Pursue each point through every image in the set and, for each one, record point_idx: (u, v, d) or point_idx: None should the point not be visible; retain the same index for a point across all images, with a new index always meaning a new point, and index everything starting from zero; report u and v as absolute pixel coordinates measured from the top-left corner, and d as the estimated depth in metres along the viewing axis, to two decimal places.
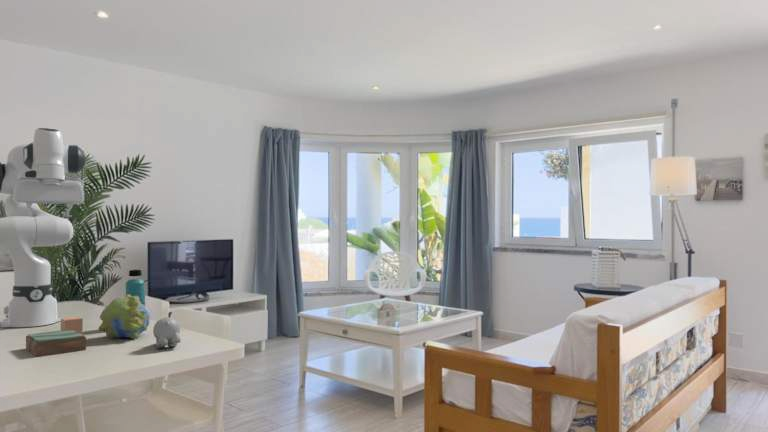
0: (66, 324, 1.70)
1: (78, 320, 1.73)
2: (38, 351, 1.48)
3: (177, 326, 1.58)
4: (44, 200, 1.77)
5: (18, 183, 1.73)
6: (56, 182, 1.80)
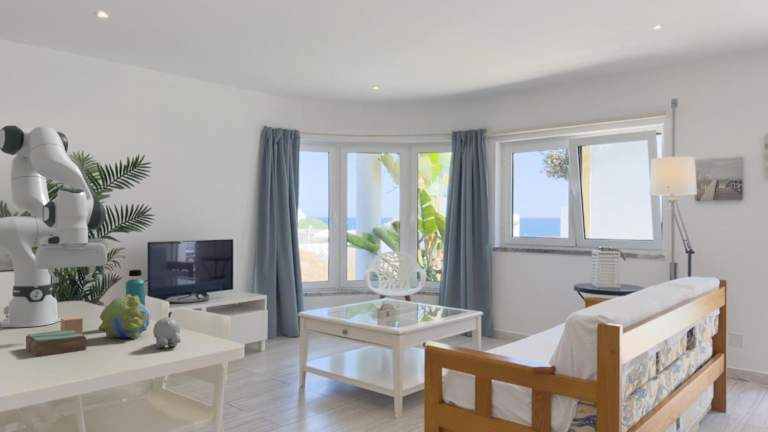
0: (66, 324, 1.70)
1: (78, 320, 1.73)
2: (38, 351, 1.48)
3: (177, 326, 1.58)
4: (67, 266, 1.71)
5: (41, 250, 1.66)
6: (79, 246, 1.73)
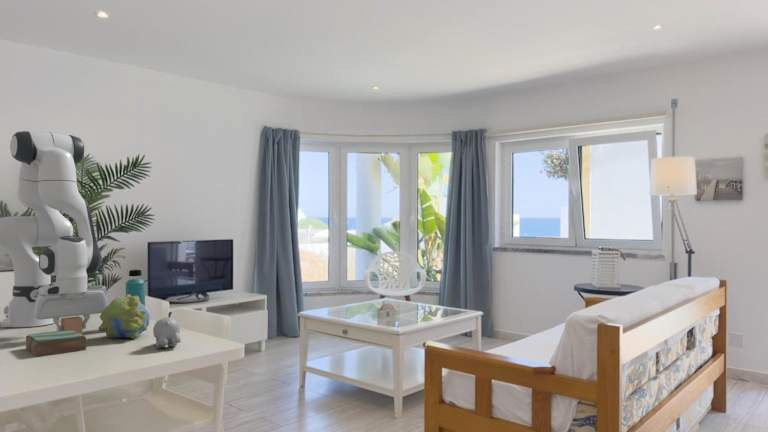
0: (66, 324, 1.70)
1: (78, 320, 1.73)
2: (38, 351, 1.48)
3: (177, 326, 1.58)
4: (66, 315, 1.71)
5: (40, 301, 1.66)
6: (79, 295, 1.73)
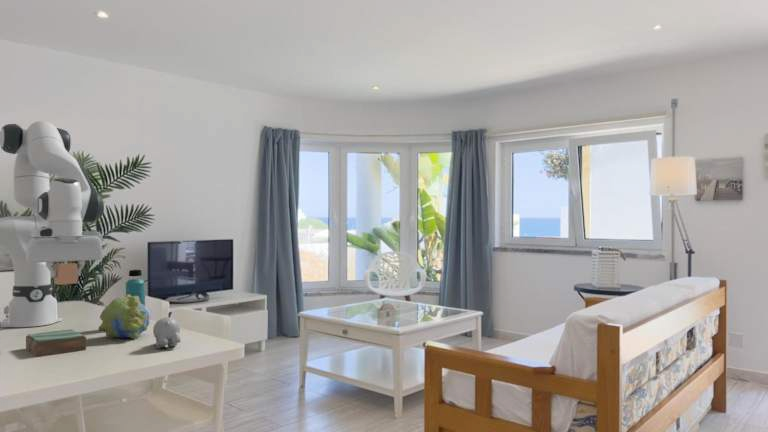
0: (60, 268, 1.62)
1: (73, 265, 1.65)
2: (38, 351, 1.48)
3: (177, 326, 1.58)
4: (60, 259, 1.63)
5: (32, 243, 1.58)
6: None
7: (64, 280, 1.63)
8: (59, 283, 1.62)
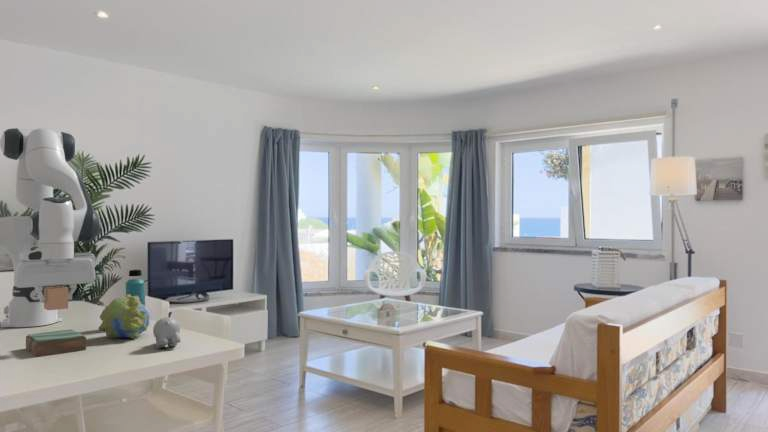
0: (50, 293, 1.53)
1: (63, 289, 1.56)
2: (38, 351, 1.48)
3: (177, 326, 1.58)
4: (50, 284, 1.54)
5: (20, 267, 1.49)
6: (64, 262, 1.56)
7: (54, 306, 1.54)
8: (49, 309, 1.53)
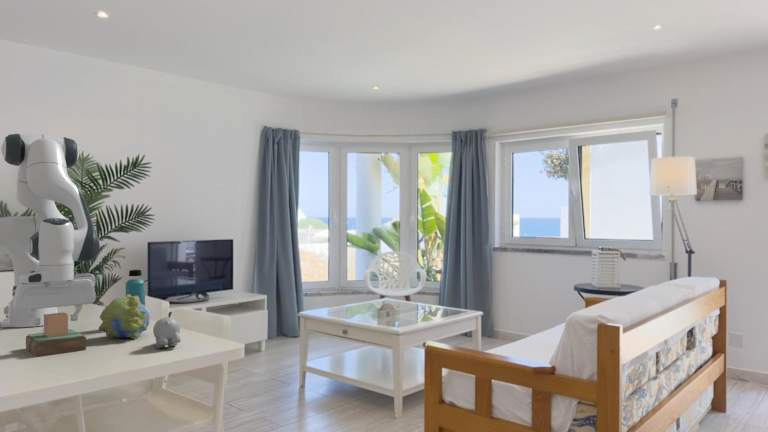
0: (49, 320, 1.53)
1: (63, 316, 1.56)
2: (38, 351, 1.48)
3: (177, 326, 1.58)
4: (50, 305, 1.54)
5: (20, 290, 1.49)
6: (64, 284, 1.56)
7: (54, 333, 1.54)
8: (48, 336, 1.53)
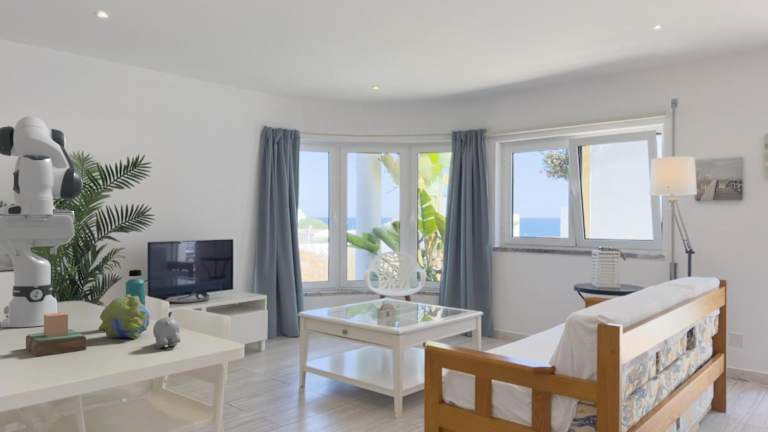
0: (49, 320, 1.53)
1: (63, 316, 1.56)
2: (38, 351, 1.48)
3: (177, 326, 1.58)
4: (29, 238, 1.60)
5: (0, 220, 1.54)
6: (43, 218, 1.61)
7: (54, 333, 1.54)
8: (48, 336, 1.53)
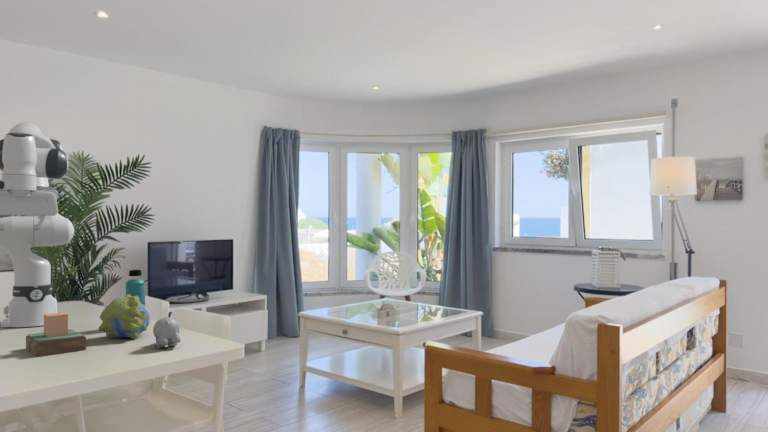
0: (49, 320, 1.53)
1: (63, 316, 1.56)
2: (38, 351, 1.48)
3: (177, 326, 1.58)
4: (13, 213, 1.63)
5: None
6: (26, 193, 1.65)
7: (54, 333, 1.54)
8: (48, 336, 1.53)
